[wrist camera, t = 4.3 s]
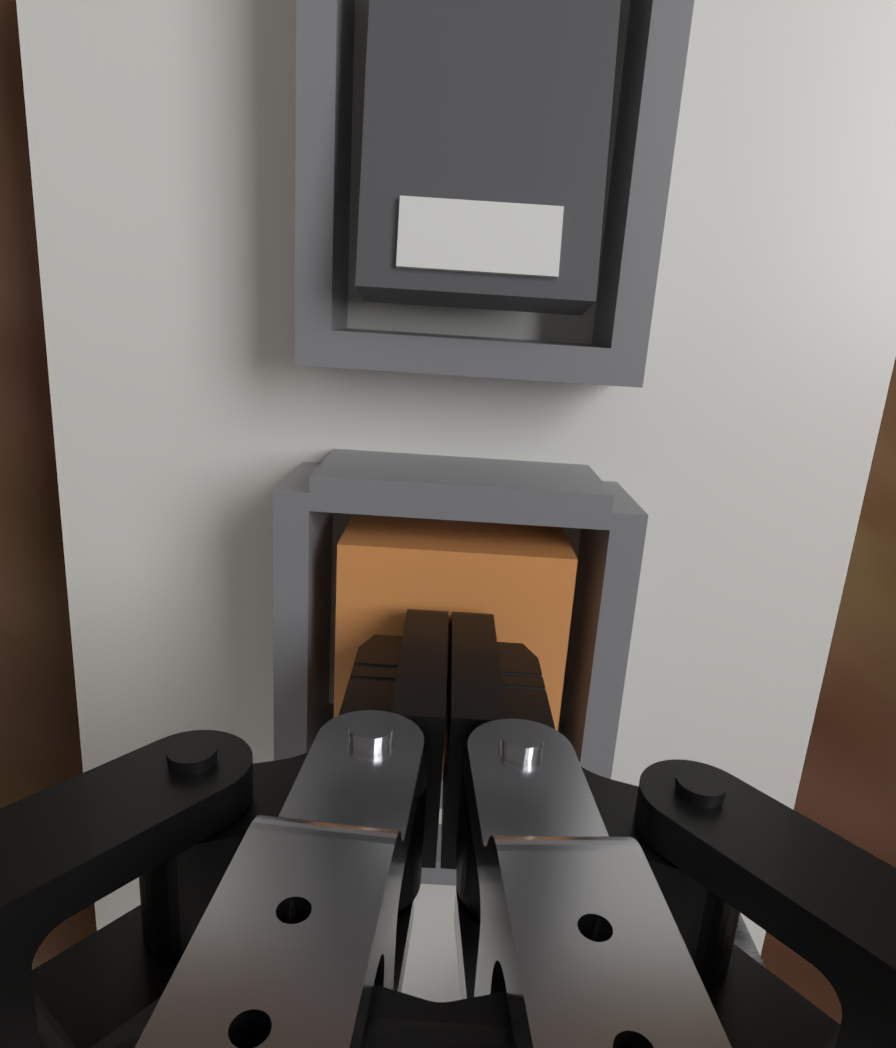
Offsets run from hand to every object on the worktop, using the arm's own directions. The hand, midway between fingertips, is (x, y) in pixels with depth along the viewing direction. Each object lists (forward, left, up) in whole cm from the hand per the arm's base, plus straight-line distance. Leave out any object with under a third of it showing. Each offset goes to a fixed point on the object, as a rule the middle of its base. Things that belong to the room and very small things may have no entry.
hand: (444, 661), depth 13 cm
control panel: (0, 0, -6) cm, 6 cm away
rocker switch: (0, -9, -1) cm, 9 cm away
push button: (0, 0, -2) cm, 2 cm away
